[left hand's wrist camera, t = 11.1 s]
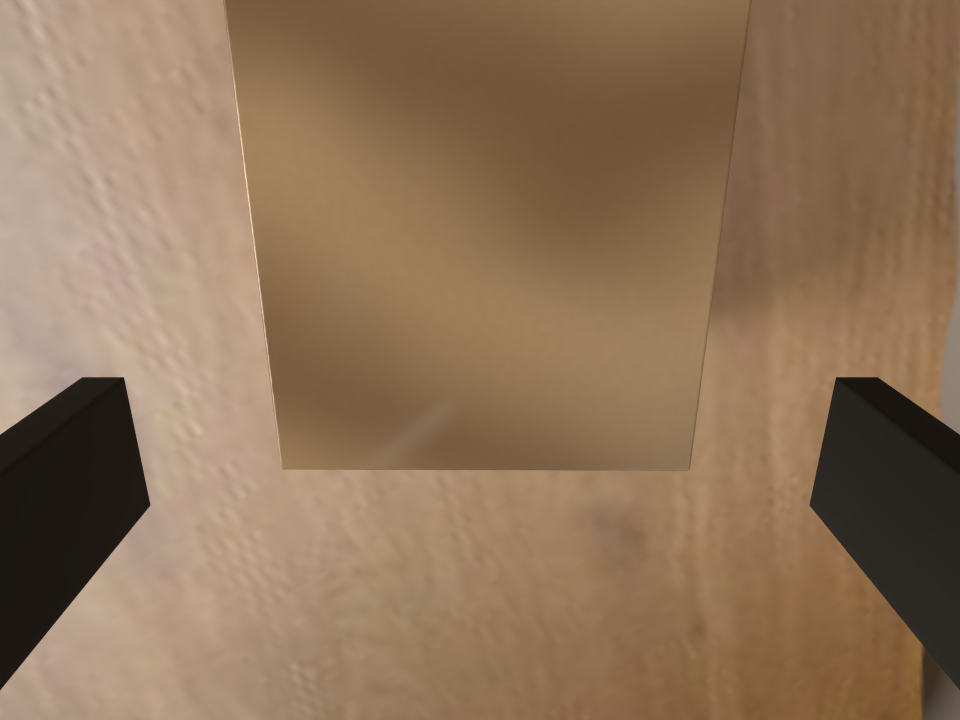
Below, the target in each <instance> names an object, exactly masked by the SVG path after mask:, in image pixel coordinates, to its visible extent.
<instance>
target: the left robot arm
mask: <svg viewBox="0 0 960 720" xmlns="http://www.w3.org/2000/svg"><path fill="white" fill-rule="evenodd" d="M149 506H150V501H149V496H148V491H147V487H146V482H145V477H144V472H143V467H142V462H141V458H140V453H139V448H138V443H137V438H136V433H135V429H134V424H133V419H132V414H131V409H130V405H129V400H128V395H127V390H126V385H125V380H124V377H82V378H81V379H79V380H78V381H76V382H75V383H74V384H72V385H71V386H69V387H68V388H66V389H65V390H64V391H62V392H61V393H59V394H58V395H56V396H55V397H54V398H52V399H51V400H49V401H48V402H46V403H45V404H44V405H42V406H41V407H39V408H38V409H36V410H35V411H34V412H32V413H31V414H29V415H28V416H26V417H25V418H24V419H22V420H21V421H19V422H18V423H16V424H15V425H14V426H12V427H11V428H9V429H8V430H6V431H5V432H4V433H2V434H1V435H0V690H1V689H2V687H3V686H4V685H5V684H6V682H7V681H8V680H9V679H10V678H11V676H12V675H13V674H14V673H15V671H16V670H17V669H18V668H19V666H20V665H21V664H22V663H23V661H24V660H25V659H26V658H27V657H28V655H29V654H30V653H31V652H32V650H33V649H34V648H35V647H36V645H37V644H38V643H39V642H40V641H41V639H42V638H43V637H44V636H45V634H46V633H47V632H48V631H49V629H50V628H51V627H52V626H53V625H54V623H55V622H56V621H57V620H58V618H59V617H60V616H61V615H62V613H63V612H64V611H65V610H66V609H67V607H68V606H69V605H70V604H71V602H72V601H73V600H74V599H75V597H76V596H77V595H78V594H79V593H80V591H81V590H82V589H83V588H84V586H85V585H86V584H87V583H88V581H89V580H90V579H91V578H92V577H93V575H94V574H95V573H96V572H97V570H98V569H99V568H100V567H101V565H102V564H103V563H104V562H105V561H106V559H107V558H108V557H109V556H110V554H111V553H112V552H113V551H114V549H115V548H116V547H117V546H118V545H119V543H120V542H121V541H122V540H123V538H124V537H125V536H126V535H127V533H128V532H129V531H130V530H131V528H132V527H133V526H134V525H135V524H136V522H137V521H138V520H139V519H140V517H141V516H142V515H143V514H144V512H145V511H146V510H147V509H148V508H149ZM810 506H811V508H812V509H813V510H814V511H815V512H816V514H817V515H818V516H819V517H820V519H821V520H822V521H823V522H824V524H825V525H826V526H827V527H828V528H829V530H830V531H831V532H832V533H833V535H834V536H835V537H836V538H837V540H838V541H839V542H840V543H841V545H842V546H843V547H844V548H845V549H846V551H847V552H848V553H849V554H850V556H851V557H852V558H853V559H854V561H855V562H856V563H857V564H858V565H859V567H860V568H861V569H862V570H863V572H864V573H865V574H866V575H867V577H868V578H869V579H870V580H871V581H872V583H873V584H874V585H875V586H876V588H877V589H878V590H879V591H880V593H881V594H882V595H883V596H884V597H885V599H886V600H887V601H888V602H889V604H890V605H891V606H892V607H893V609H894V610H895V611H896V612H897V613H898V615H899V616H900V617H901V618H902V620H903V621H904V622H905V623H906V625H907V626H908V627H909V628H910V629H911V631H912V632H913V633H914V634H915V636H916V637H917V638H918V639H919V641H920V642H921V643H922V644H923V645H924V647H925V648H926V649H927V650H928V652H929V653H930V654H931V655H932V657H933V658H934V659H935V660H936V661H937V663H938V664H939V665H940V666H941V668H942V669H943V670H944V671H945V673H946V674H947V675H948V676H949V677H950V679H951V680H952V681H953V682H954V684H955V685H956V686H957V687H958V689H959V690H960V435H959V434H958V433H956V432H955V431H954V430H952V429H951V428H949V427H948V426H946V425H945V424H944V423H942V422H941V421H939V420H938V419H936V418H935V417H934V416H932V415H931V414H929V413H928V412H926V411H925V410H924V409H922V408H921V407H919V406H918V405H916V404H915V403H914V402H912V401H911V400H909V399H908V398H906V397H905V396H904V395H902V394H901V393H899V392H898V391H896V390H895V389H894V388H892V387H891V386H889V385H888V384H886V383H885V382H884V381H882V380H881V379H879V378H878V377H836V380H835V385H834V390H833V395H832V400H831V405H830V409H829V414H828V419H827V424H826V429H825V433H824V438H823V443H822V448H821V453H820V458H819V462H818V467H817V472H816V477H815V482H814V487H813V491H812V496H811V501H810Z"/></svg>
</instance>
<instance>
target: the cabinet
mask: <svg viewBox="0 0 960 720" xmlns="http://www.w3.org/2000/svg"><path fill="white" fill-rule="evenodd" d="M223 3H224V12H225V20H226V28H227V36H228V44H229V52H230V60H231V68H232V76H233V84H234V92H235V101H236V109H237V117H238V125H239V133H240V141H241V149H242V157H243V165H244V173H245V182H246V190H247V198H248V206H249V214H250V222H251V230H252V238H253V246H254V254H255V262H256V271H257V279H258V287H259V295H260V303H261V311H262V319H263V327H264V335H265V343H266V351H267V360H268V368H269V376H270V384H271V392H272V400H273V408H274V416H275V424H276V432H277V441H278V449H279V457H280V465H281V468H282V469H333V470H659V471H687V470H689V469H690V463H691V456H692V448H693V441H694V433H695V425H696V418H697V410H698V403H699V395H700V387H701V380H702V372H703V365H704V357H705V349H706V342H707V334H708V327H709V319H710V311H711V304H712V296H713V289H714V281H715V273H716V266H717V258H718V251H719V243H720V235H721V228H722V220H723V213H724V205H725V198H726V190H727V182H728V175H729V167H730V160H731V152H732V144H733V137H734V129H735V122H736V114H737V106H738V99H739V91H740V84H741V76H742V68H743V61H744V53H745V46H746V38H747V30H748V23H749V15H750V8H751V0H223Z"/></svg>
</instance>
